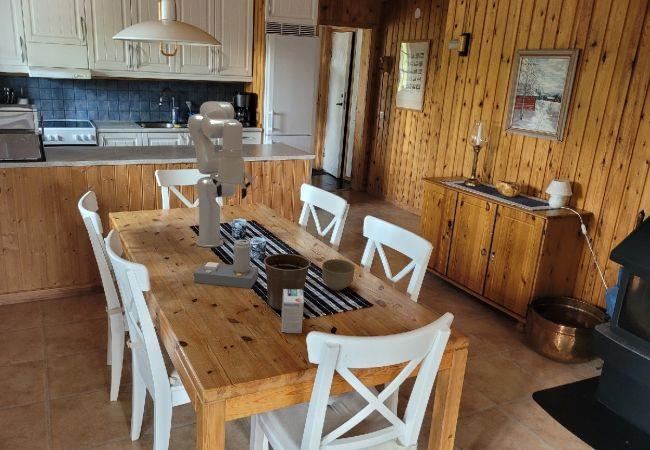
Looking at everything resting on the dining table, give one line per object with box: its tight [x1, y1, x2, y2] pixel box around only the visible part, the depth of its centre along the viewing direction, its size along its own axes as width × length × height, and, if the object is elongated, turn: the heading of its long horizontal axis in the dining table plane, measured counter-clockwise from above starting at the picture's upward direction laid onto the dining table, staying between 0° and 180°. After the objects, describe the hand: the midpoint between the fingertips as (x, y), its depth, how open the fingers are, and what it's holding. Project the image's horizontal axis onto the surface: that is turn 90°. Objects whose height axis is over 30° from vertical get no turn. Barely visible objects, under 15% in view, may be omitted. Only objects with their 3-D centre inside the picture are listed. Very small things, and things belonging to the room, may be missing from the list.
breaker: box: [205, 261, 220, 271], centre depth 205 cm, size 4×4×3 cm
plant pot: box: [263, 253, 311, 311], centre depth 186 cm, size 16×16×16 cm
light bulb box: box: [280, 289, 305, 334], centre depth 171 cm, size 11×7×11 cm, turn 5°
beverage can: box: [232, 239, 252, 273], centre depth 202 cm, size 6×6×12 cm
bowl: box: [321, 258, 356, 291], centre depth 202 cm, size 13×13×10 cm
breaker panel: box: [193, 261, 259, 289], centre depth 205 cm, size 12×22×5 cm, turn 84°
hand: (231, 196), depth 209 cm, fingers open, 9 cm apart
